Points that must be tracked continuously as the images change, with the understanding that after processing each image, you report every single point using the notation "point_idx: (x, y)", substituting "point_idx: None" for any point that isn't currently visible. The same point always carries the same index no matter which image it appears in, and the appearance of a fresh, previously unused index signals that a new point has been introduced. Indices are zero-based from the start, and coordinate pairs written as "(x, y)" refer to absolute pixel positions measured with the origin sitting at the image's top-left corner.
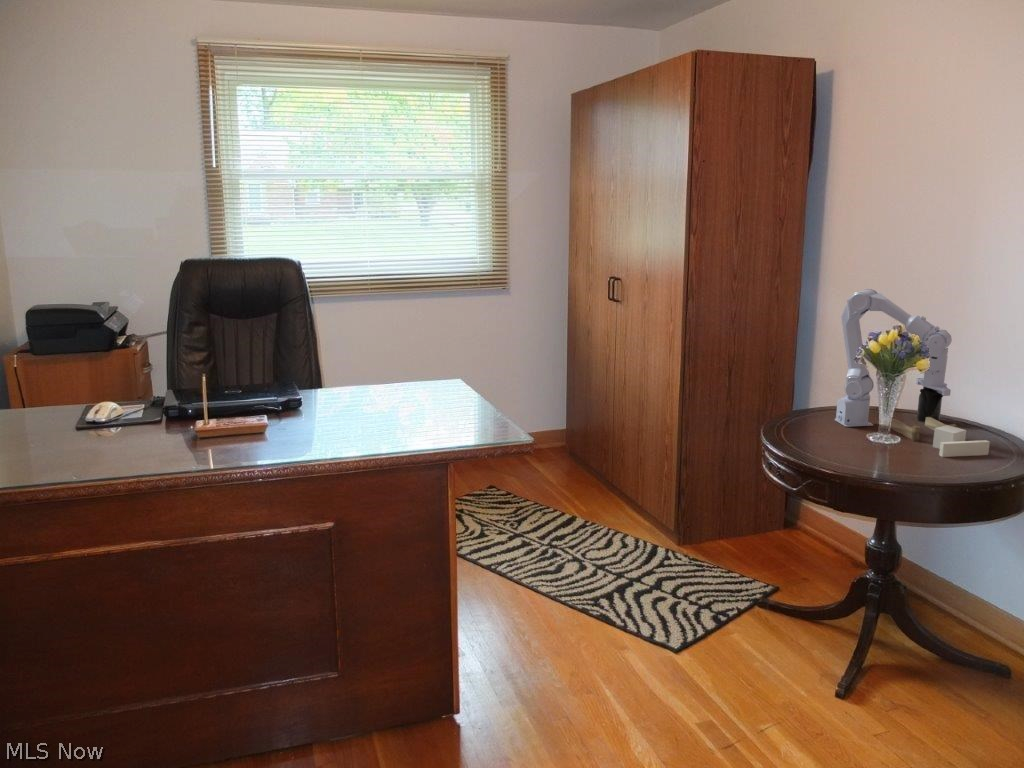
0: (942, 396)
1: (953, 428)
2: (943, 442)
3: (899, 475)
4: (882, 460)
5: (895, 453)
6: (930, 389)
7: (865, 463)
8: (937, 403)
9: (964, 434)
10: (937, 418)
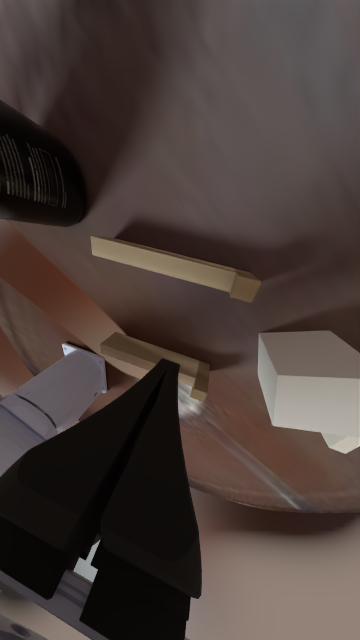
0: (189, 495)
1: (326, 395)
2: (337, 446)
3: (319, 498)
4: (257, 466)
5: (244, 439)
6: (74, 567)
7: (252, 480)
8: (177, 411)
9: None
10: (70, 169)
